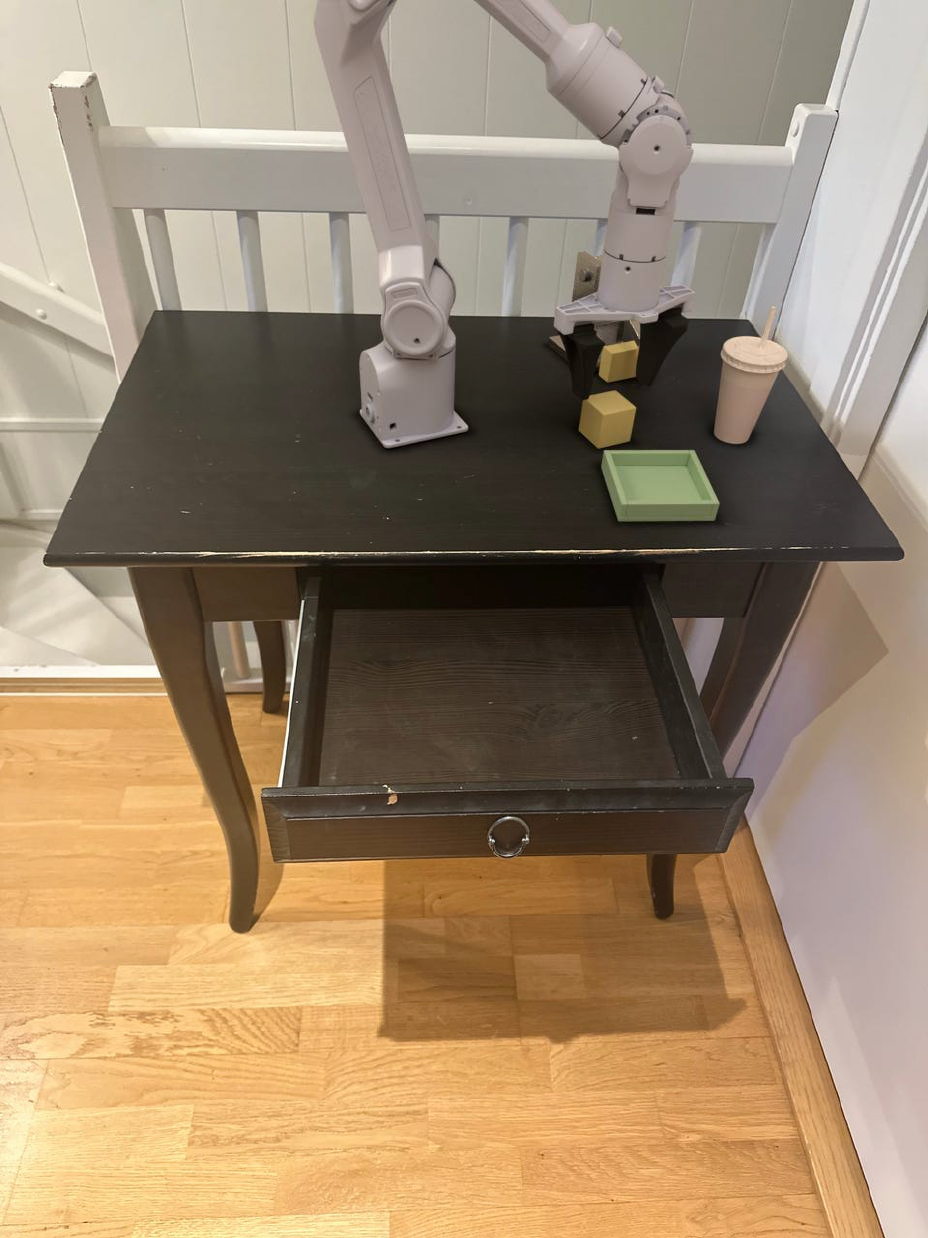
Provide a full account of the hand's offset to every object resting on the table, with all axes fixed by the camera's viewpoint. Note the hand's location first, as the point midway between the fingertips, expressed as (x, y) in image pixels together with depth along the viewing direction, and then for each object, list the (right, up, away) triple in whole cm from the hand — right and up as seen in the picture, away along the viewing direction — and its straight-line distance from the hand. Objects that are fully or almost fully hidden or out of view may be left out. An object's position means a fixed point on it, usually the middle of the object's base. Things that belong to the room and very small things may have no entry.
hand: (612, 388), depth 85 cm
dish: (+4, -11, -4) cm, 12 cm away
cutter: (+1, +9, +18) cm, 20 cm away
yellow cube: (0, -4, +4) cm, 6 cm away
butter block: (+3, +5, +14) cm, 15 cm away
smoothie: (+14, -4, +5) cm, 15 cm away
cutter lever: (+3, +11, +11) cm, 15 cm away
